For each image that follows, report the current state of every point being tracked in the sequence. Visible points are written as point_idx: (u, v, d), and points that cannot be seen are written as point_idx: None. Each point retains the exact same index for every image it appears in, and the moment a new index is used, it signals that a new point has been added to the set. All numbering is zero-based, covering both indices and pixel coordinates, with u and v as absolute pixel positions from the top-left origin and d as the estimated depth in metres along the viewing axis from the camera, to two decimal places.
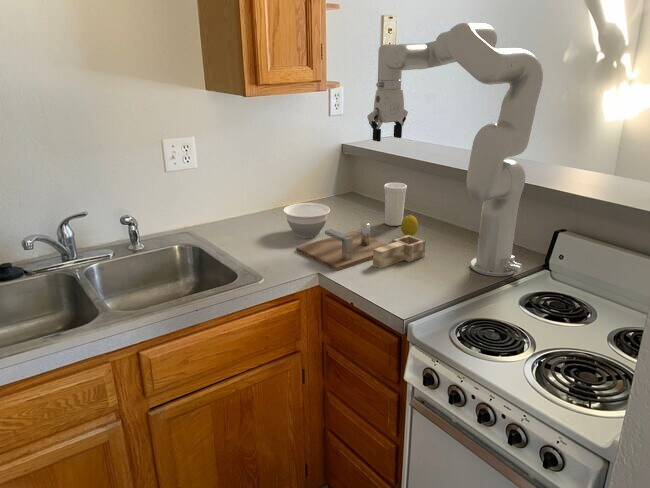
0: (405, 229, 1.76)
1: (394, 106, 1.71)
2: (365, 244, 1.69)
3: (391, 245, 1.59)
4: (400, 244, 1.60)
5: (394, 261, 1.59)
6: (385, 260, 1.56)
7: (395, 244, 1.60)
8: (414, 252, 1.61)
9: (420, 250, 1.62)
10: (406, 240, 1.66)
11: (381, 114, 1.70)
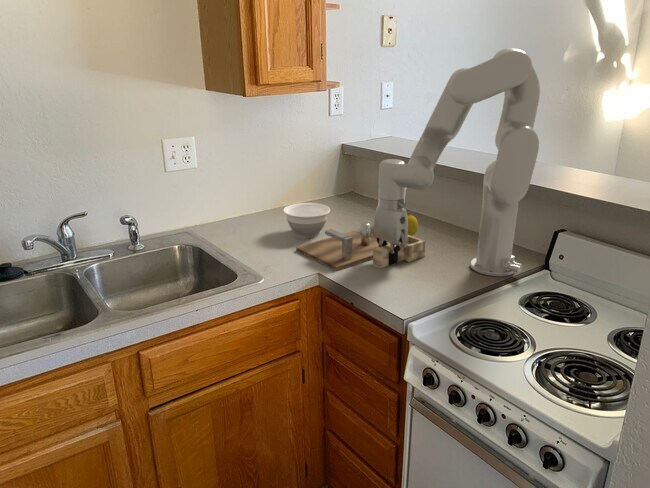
0: None
1: None
2: (365, 244, 1.69)
3: None
4: None
5: None
6: (385, 260, 1.56)
7: None
8: (414, 252, 1.61)
9: (420, 250, 1.62)
10: None
11: (407, 234, 1.54)
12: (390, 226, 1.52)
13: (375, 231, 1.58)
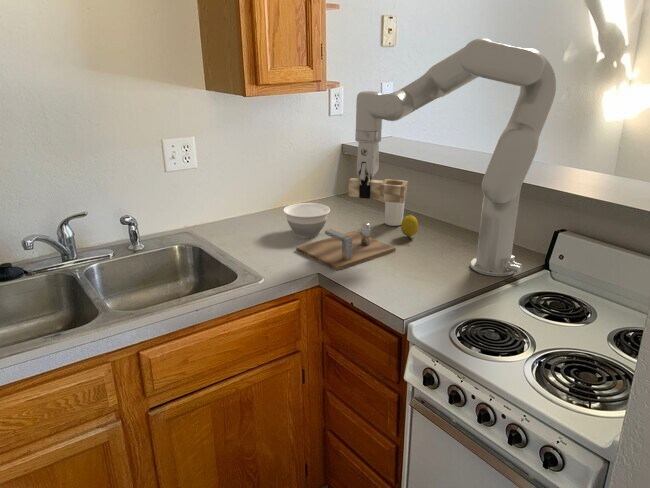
0: (405, 229, 1.76)
1: (376, 157, 1.57)
2: (365, 244, 1.69)
3: (370, 180, 1.61)
4: (378, 182, 1.59)
5: None
6: (355, 191, 1.61)
7: (374, 181, 1.60)
8: (388, 193, 1.57)
9: (396, 194, 1.56)
10: (400, 184, 1.61)
11: (370, 168, 1.54)
12: None
13: None
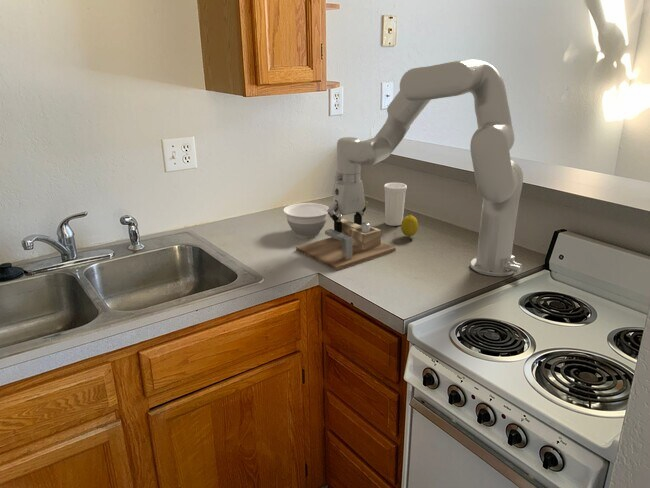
0: (405, 229, 1.76)
1: (353, 198, 1.69)
2: None
3: (351, 223, 1.74)
4: (354, 226, 1.72)
5: None
6: None
7: (353, 224, 1.73)
8: (354, 238, 1.68)
9: (359, 240, 1.66)
10: None
11: (340, 207, 1.68)
12: None
13: None
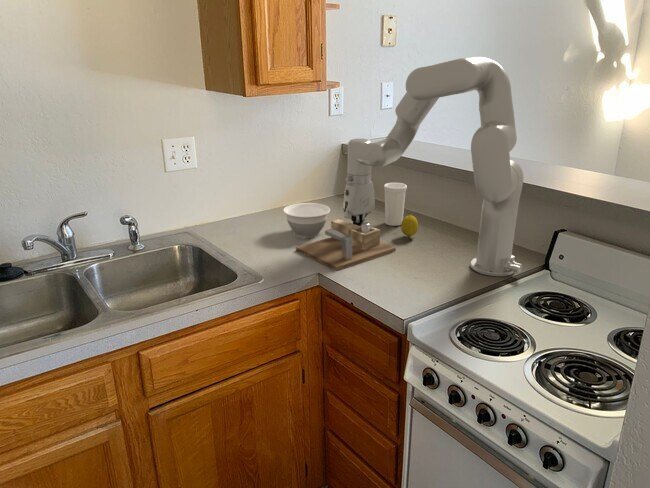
0: (405, 229, 1.76)
1: (363, 199, 1.70)
2: None
3: (348, 224, 1.74)
4: (352, 226, 1.71)
5: None
6: None
7: (351, 225, 1.72)
8: (353, 239, 1.68)
9: (359, 241, 1.66)
10: None
11: (350, 208, 1.69)
12: None
13: None
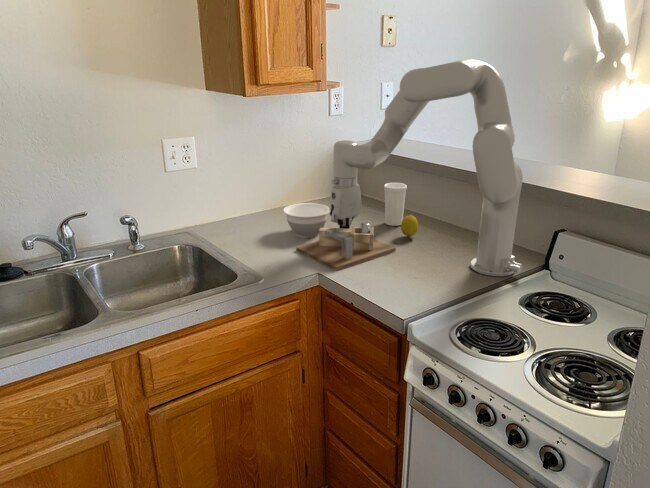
0: (405, 229, 1.76)
1: (350, 202, 1.67)
2: None
3: (339, 229, 1.69)
4: (347, 231, 1.67)
5: (337, 244, 1.69)
6: (325, 240, 1.69)
7: (343, 229, 1.68)
8: (358, 242, 1.65)
9: (366, 242, 1.65)
10: None
11: (337, 211, 1.65)
12: None
13: None
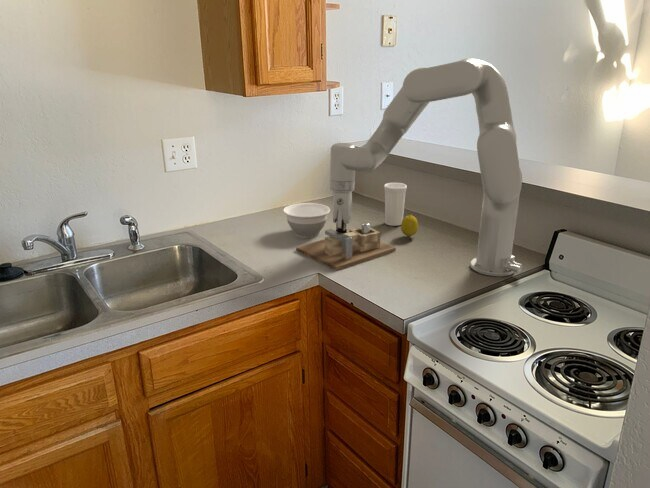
0: (405, 229, 1.76)
1: None
2: None
3: None
4: (353, 234, 1.65)
5: None
6: (336, 248, 1.62)
7: (348, 234, 1.65)
8: (367, 243, 1.65)
9: (374, 241, 1.66)
10: None
11: (346, 216, 1.60)
12: None
13: None
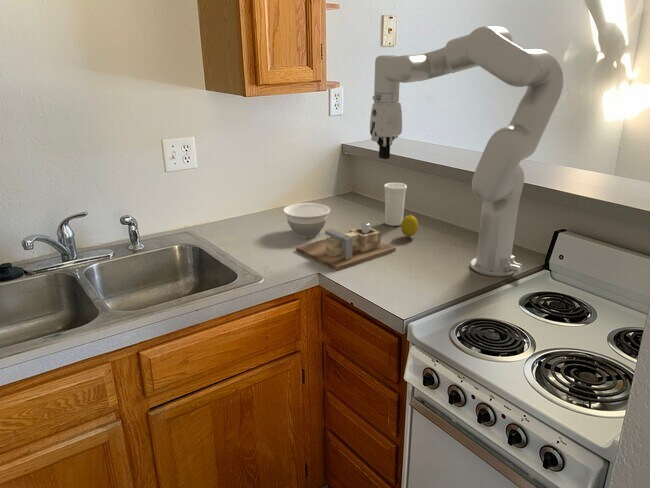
0: (405, 229, 1.76)
1: (391, 120, 1.62)
2: None
3: None
4: (354, 234, 1.64)
5: None
6: (337, 249, 1.61)
7: (349, 234, 1.64)
8: (368, 242, 1.65)
9: (375, 241, 1.66)
10: None
11: (378, 129, 1.61)
12: None
13: None
